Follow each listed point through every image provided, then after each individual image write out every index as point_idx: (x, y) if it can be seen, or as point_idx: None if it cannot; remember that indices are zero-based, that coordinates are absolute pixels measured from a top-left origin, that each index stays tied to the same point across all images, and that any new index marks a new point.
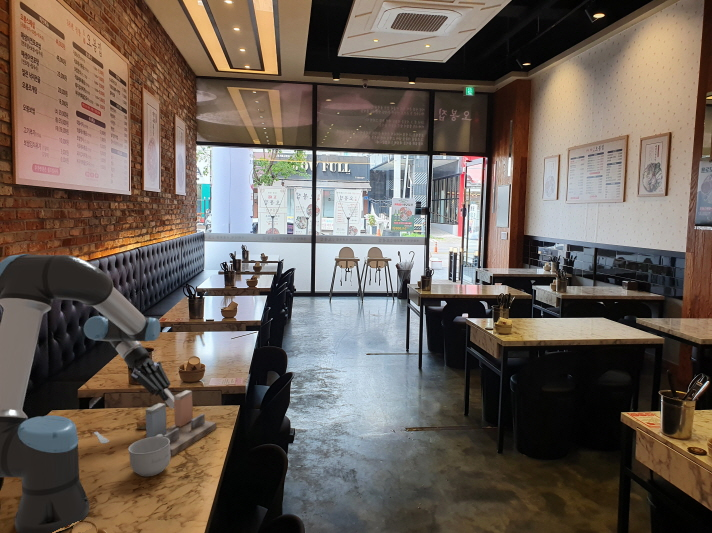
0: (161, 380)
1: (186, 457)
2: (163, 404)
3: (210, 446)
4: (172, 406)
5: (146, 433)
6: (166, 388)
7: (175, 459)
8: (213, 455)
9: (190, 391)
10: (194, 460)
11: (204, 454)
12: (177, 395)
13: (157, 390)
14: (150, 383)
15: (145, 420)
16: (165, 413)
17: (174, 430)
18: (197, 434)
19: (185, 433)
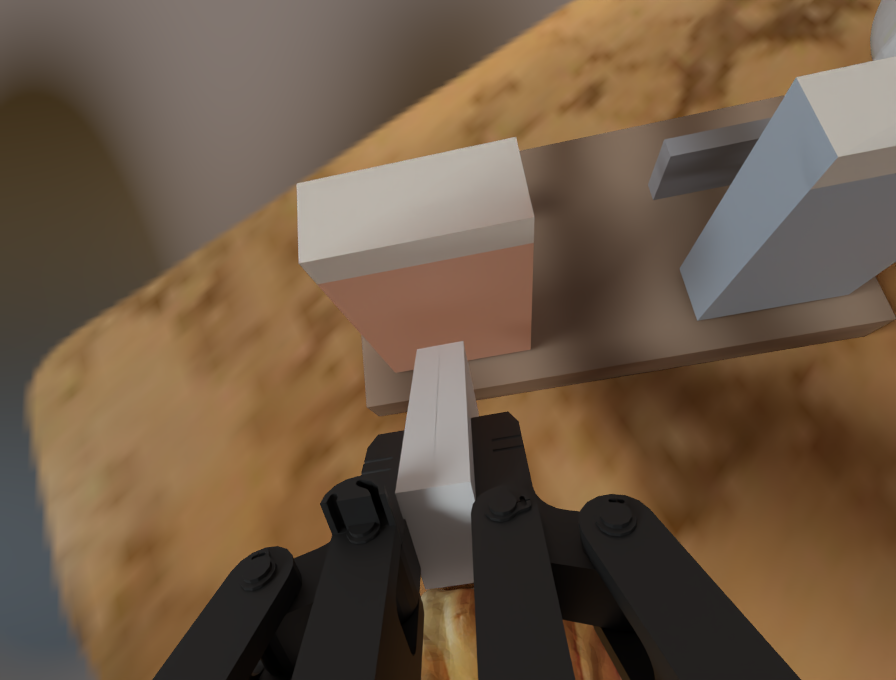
0: (347, 677)
1: (721, 71)
2: (826, 83)
3: (556, 78)
4: (472, 390)
5: (890, 264)
6: (410, 489)
7: (776, 92)
8: (620, 6)
9: (316, 185)
10: (715, 26)
11: (639, 38)
12: (499, 195)
13: (598, 508)
14: (747, 673)
15: (601, 670)
16: (754, 157)
17: (705, 139)
18: (541, 147)
19: (574, 207)
